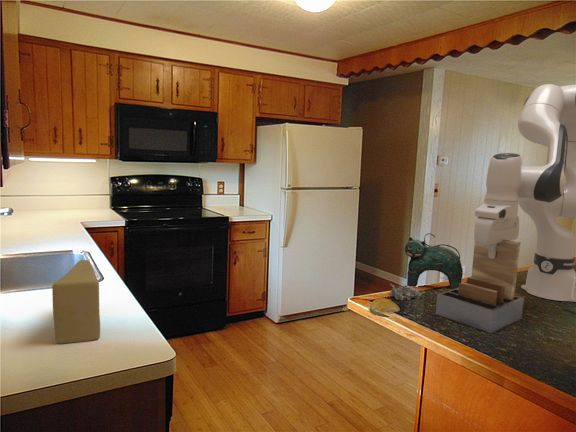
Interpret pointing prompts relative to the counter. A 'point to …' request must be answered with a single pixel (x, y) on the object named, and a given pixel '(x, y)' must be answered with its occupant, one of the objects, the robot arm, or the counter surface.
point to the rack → (479, 310)
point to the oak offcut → (477, 293)
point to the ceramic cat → (432, 262)
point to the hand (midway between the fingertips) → (495, 257)
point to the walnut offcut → (488, 286)
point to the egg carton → (407, 291)
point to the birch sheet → (498, 265)
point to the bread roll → (383, 306)
